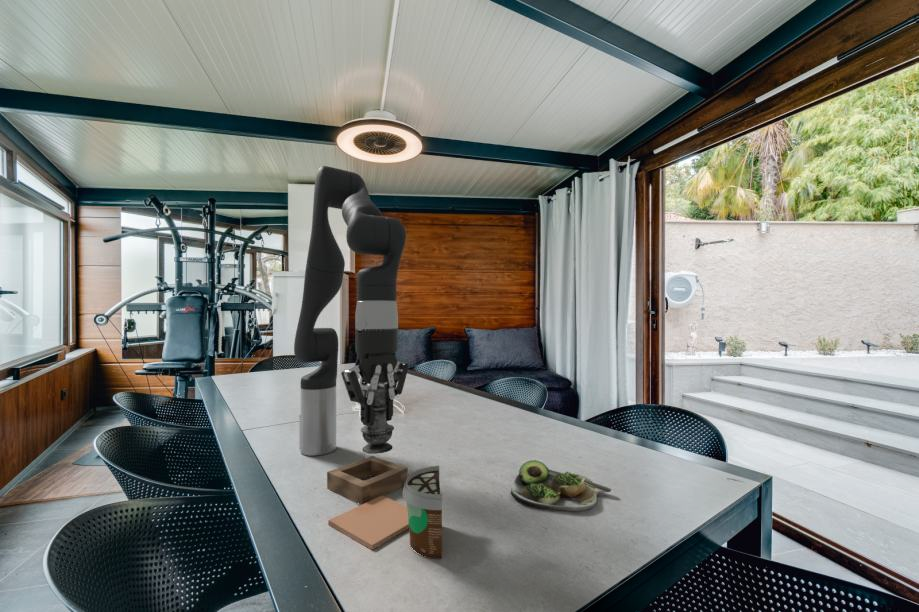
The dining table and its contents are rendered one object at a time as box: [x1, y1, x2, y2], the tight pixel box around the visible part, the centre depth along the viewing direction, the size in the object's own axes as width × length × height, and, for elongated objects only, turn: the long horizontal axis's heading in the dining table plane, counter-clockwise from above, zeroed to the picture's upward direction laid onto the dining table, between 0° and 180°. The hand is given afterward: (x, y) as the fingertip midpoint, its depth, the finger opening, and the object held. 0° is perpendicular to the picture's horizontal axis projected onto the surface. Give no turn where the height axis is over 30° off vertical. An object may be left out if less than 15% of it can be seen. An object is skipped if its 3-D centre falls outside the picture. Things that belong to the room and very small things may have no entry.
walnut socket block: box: [326, 455, 409, 506], centre depth 84 cm, size 12×12×4 cm
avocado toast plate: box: [510, 459, 612, 512], centre depth 81 cm, size 19×18×5 cm
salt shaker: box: [360, 383, 395, 455], centre depth 70 cm, size 6×6×12 cm
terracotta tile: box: [328, 495, 409, 550], centre depth 70 cm, size 12×12×1 cm
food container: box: [402, 465, 443, 560], centre depth 64 cm, size 12×6×10 cm, turn 5°
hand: (377, 422), depth 70 cm, fingers closed on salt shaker, 3 cm apart
